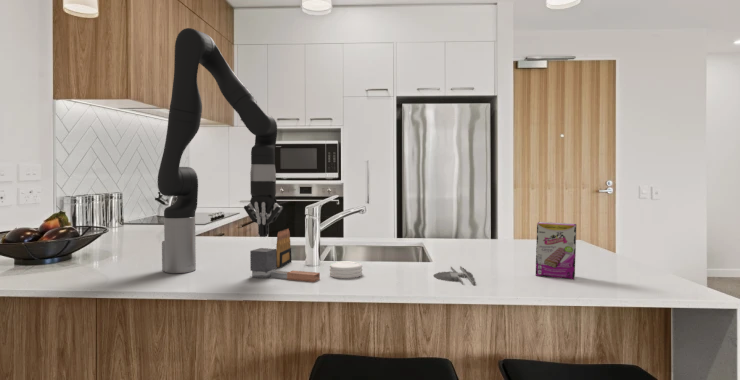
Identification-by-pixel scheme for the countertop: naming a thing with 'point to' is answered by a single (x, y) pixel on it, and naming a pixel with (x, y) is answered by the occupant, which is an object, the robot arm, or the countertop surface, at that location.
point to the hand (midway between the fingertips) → (263, 236)
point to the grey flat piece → (455, 276)
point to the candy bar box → (556, 250)
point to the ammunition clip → (283, 249)
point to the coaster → (345, 269)
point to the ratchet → (288, 275)
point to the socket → (263, 259)
